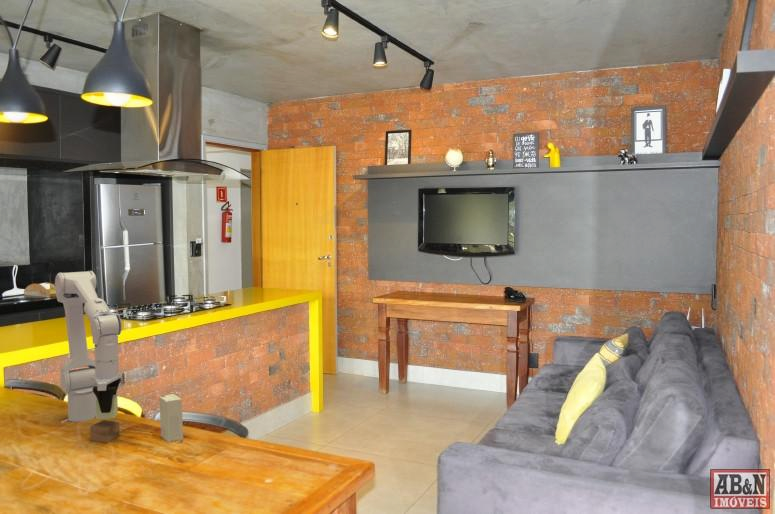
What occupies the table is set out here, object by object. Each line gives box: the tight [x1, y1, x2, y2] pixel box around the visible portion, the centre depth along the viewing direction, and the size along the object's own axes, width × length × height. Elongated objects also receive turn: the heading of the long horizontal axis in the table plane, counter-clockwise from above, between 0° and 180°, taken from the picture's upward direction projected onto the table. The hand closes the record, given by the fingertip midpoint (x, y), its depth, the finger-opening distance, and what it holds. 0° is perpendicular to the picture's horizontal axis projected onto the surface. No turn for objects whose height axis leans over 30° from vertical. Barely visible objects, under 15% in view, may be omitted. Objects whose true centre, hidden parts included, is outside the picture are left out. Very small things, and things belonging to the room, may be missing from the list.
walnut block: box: [90, 419, 121, 444], centre depth 164 cm, size 5×5×4 cm
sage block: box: [95, 394, 119, 420], centre depth 164 cm, size 4×4×5 cm
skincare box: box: [158, 393, 184, 445], centre depth 165 cm, size 6×4×12 cm
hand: (107, 409), depth 164 cm, fingers closed on sage block, 4 cm apart
